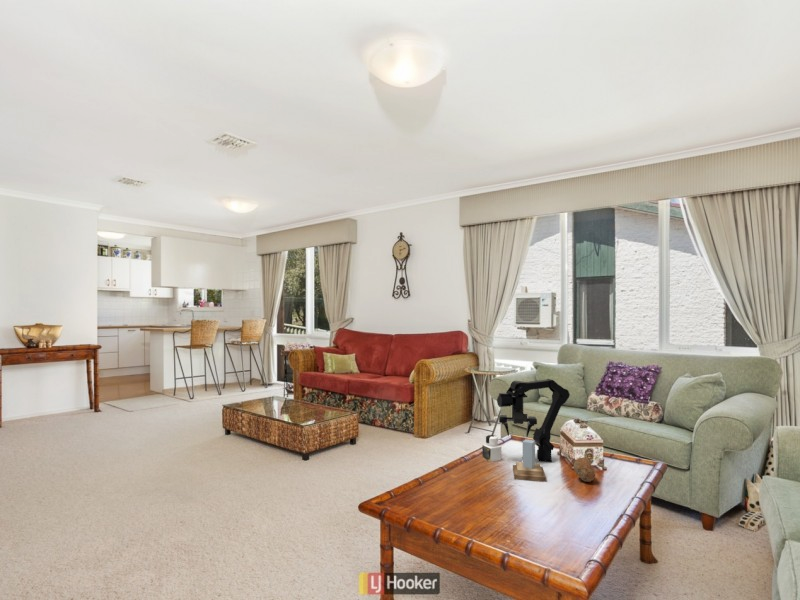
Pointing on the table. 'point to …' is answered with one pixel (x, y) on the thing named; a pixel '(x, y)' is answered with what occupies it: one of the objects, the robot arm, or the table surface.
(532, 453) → the block
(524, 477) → the plinth
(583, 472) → the brown rock
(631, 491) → the table surface
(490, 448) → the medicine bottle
